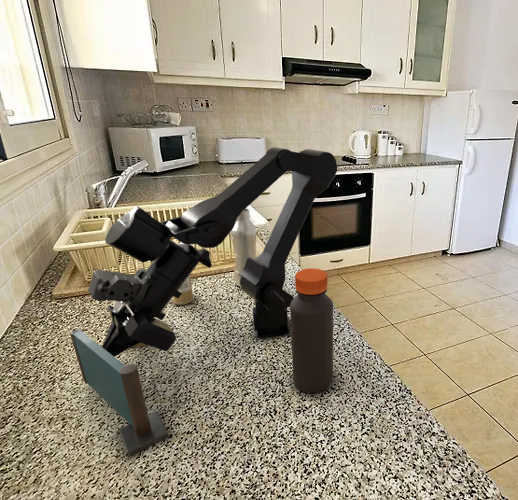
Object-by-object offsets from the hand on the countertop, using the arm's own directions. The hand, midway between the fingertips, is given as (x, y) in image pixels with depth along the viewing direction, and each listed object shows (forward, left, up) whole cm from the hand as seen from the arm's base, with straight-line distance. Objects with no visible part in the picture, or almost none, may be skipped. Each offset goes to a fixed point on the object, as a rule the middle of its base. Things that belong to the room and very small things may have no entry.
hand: (101, 359), depth 57 cm
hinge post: (-7, +10, -7) cm, 14 cm away
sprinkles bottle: (-8, -30, -7) cm, 32 cm away
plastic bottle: (-23, -35, -7) cm, 42 cm away
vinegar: (-32, +5, -7) cm, 33 cm away
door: (-1, +3, -6) cm, 7 cm away
